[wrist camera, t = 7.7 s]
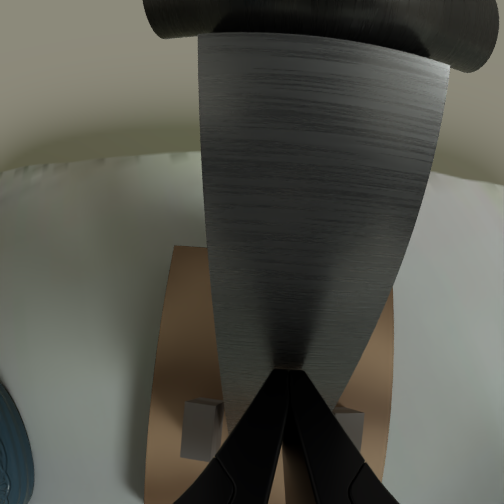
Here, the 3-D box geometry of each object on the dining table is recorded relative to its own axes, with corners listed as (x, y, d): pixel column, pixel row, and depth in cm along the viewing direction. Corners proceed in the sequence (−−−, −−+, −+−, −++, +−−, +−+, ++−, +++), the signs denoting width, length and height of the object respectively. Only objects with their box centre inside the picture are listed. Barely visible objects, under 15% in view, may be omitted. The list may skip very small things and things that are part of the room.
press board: (359, 525, 12) (403, 582, 5) (154, 512, 13) (103, 564, 6) (379, 273, 18) (432, 215, 12) (182, 258, 19) (144, 194, 12)
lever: (329, 447, 12) (498, -27, 2) (210, 440, 12) (143, -75, 2) (328, 409, 13) (445, -17, 3) (217, 402, 14) (183, -46, 4)
